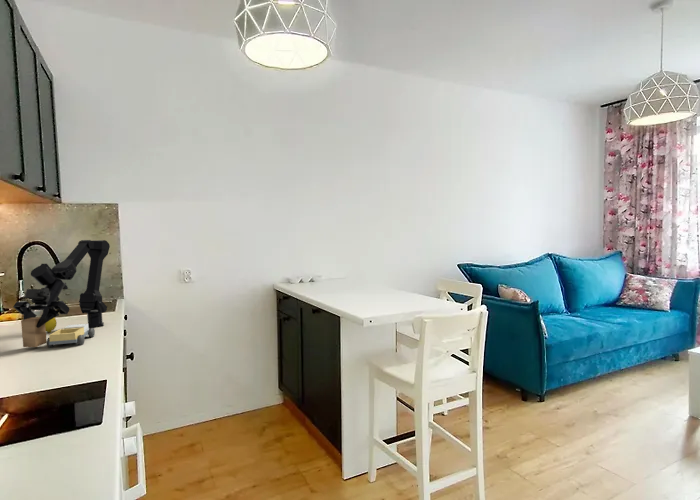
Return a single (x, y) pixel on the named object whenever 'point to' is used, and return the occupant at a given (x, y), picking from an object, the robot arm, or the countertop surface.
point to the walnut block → (33, 332)
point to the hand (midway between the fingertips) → (30, 327)
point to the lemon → (50, 325)
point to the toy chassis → (70, 335)
